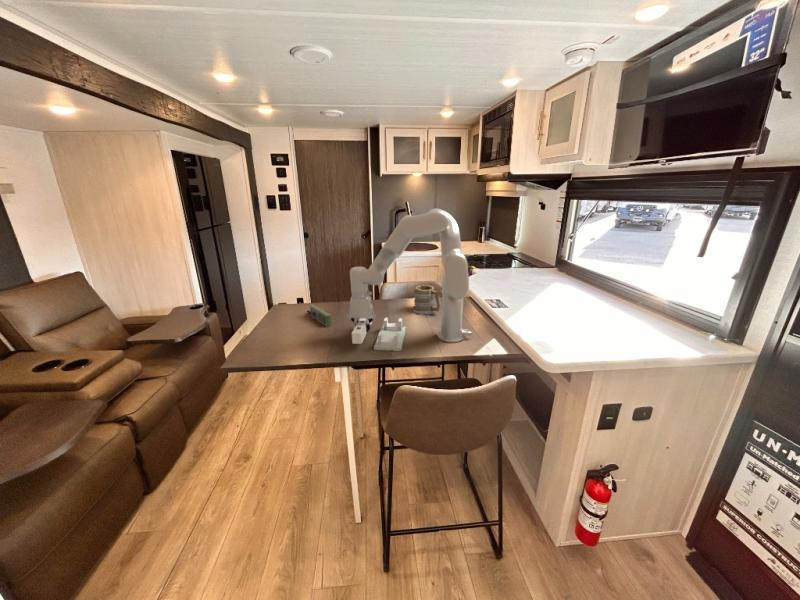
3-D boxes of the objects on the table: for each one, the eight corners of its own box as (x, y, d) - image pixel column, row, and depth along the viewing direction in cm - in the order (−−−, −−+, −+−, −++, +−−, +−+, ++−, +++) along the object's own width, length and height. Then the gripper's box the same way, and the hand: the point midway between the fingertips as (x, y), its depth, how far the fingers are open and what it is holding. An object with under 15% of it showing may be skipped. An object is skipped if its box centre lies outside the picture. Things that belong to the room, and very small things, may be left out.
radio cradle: (405, 329, 156) (405, 317, 154) (401, 351, 135) (401, 337, 133) (382, 328, 157) (381, 316, 155) (374, 349, 137) (373, 336, 134)
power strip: (372, 321, 158) (371, 311, 156) (361, 343, 135) (360, 333, 133) (364, 321, 158) (363, 311, 156) (352, 343, 136) (351, 332, 134)
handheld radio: (326, 328, 158) (305, 314, 176) (332, 326, 160) (310, 312, 178) (326, 316, 156) (304, 303, 174) (332, 314, 158) (309, 301, 176)
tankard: (408, 310, 180) (408, 285, 175) (423, 305, 188) (424, 281, 183) (434, 320, 166) (435, 294, 161) (449, 314, 174) (451, 288, 169)
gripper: (379, 291, 143) (381, 327, 149) (344, 291, 145) (347, 327, 151) (376, 297, 136) (379, 334, 142) (339, 296, 138) (343, 334, 144)
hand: (363, 330), depth 146 cm, fingers closed on power strip, 4 cm apart
